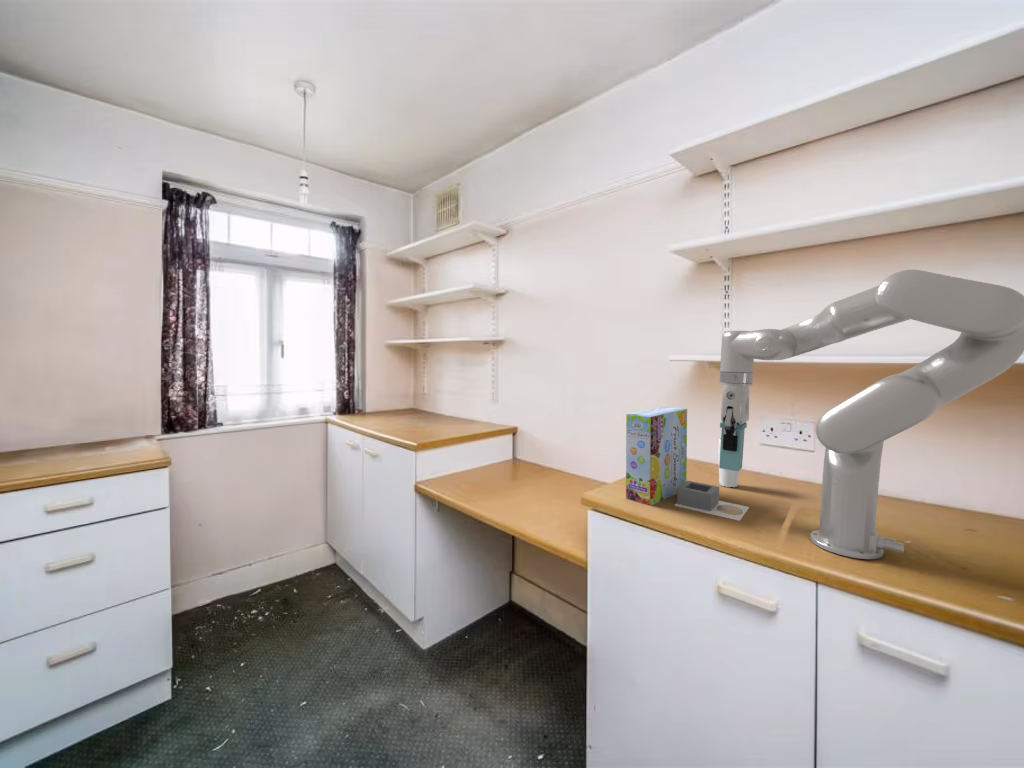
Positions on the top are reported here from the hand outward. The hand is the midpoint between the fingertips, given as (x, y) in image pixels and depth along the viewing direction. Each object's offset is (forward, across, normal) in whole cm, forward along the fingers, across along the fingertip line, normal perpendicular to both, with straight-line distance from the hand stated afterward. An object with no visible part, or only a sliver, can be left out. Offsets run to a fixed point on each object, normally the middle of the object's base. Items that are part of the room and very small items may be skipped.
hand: (732, 447), depth 110 cm
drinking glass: (+18, +26, +6) cm, 32 cm away
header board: (+18, 0, +4) cm, 18 cm away
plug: (+5, 0, 0) cm, 5 cm away
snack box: (+18, 0, +20) cm, 27 cm away
